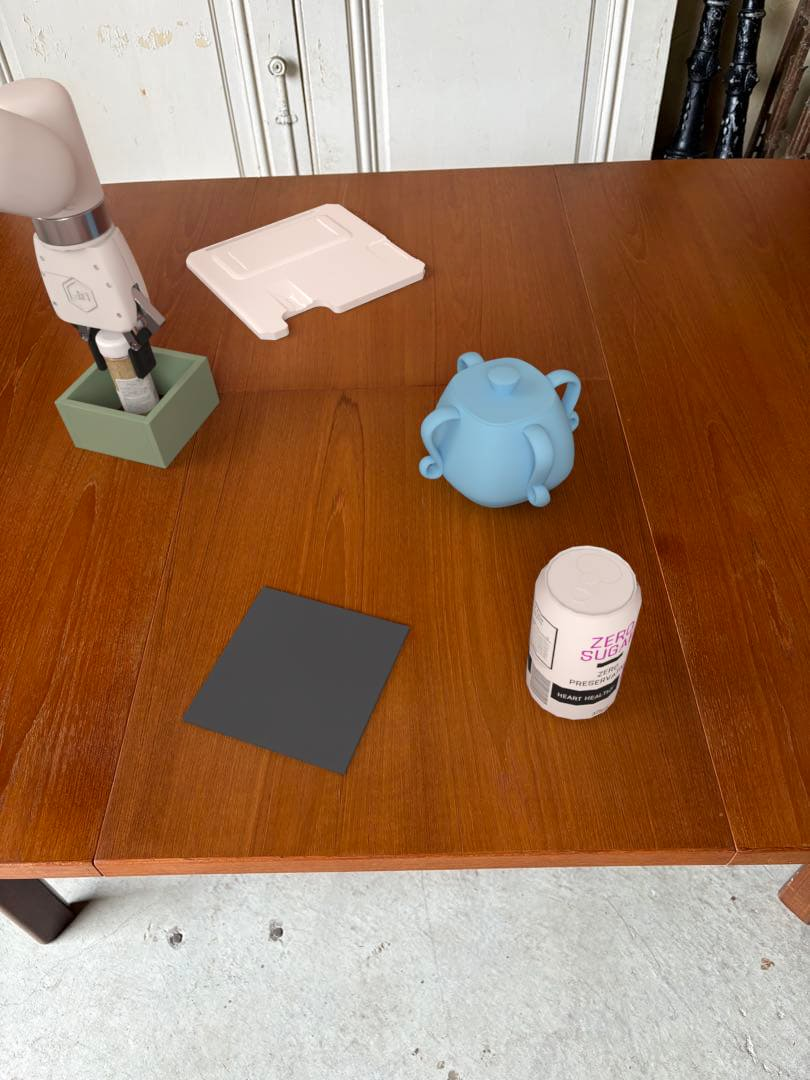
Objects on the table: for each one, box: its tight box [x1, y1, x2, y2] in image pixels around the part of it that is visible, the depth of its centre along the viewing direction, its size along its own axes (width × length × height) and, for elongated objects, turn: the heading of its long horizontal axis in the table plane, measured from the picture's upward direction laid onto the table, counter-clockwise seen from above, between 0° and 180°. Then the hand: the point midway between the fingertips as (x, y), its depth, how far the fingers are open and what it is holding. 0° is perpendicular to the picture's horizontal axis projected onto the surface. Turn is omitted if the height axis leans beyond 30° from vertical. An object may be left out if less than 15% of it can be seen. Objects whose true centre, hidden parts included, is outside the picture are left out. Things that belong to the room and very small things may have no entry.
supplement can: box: [525, 545, 643, 721], centre depth 68 cm, size 8×8×15 cm
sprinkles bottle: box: [96, 327, 160, 416], centre depth 97 cm, size 5×5×13 cm
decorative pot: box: [418, 351, 582, 509], centre depth 88 cm, size 16×16×14 cm
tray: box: [185, 203, 426, 341], centre depth 124 cm, size 28×28×2 cm
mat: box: [181, 586, 411, 776], centre depth 76 cm, size 16×16×1 cm
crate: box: [54, 345, 221, 469], centre depth 99 cm, size 13×13×7 cm
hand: (127, 366), depth 95 cm, fingers closed on sprinkles bottle, 4 cm apart
